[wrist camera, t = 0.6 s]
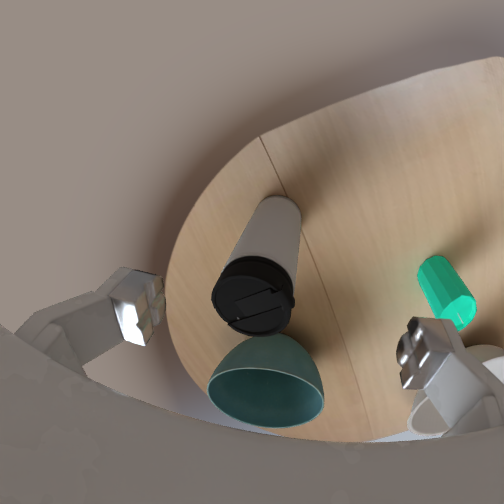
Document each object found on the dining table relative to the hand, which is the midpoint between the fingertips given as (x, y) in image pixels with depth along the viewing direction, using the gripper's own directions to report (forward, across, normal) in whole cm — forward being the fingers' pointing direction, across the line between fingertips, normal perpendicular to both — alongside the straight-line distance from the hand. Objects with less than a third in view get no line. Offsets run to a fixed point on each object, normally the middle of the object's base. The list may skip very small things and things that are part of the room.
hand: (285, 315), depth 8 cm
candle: (+29, -23, +13) cm, 39 cm away
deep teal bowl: (+28, 0, +33) cm, 44 cm away
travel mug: (+29, +2, +8) cm, 30 cm away
